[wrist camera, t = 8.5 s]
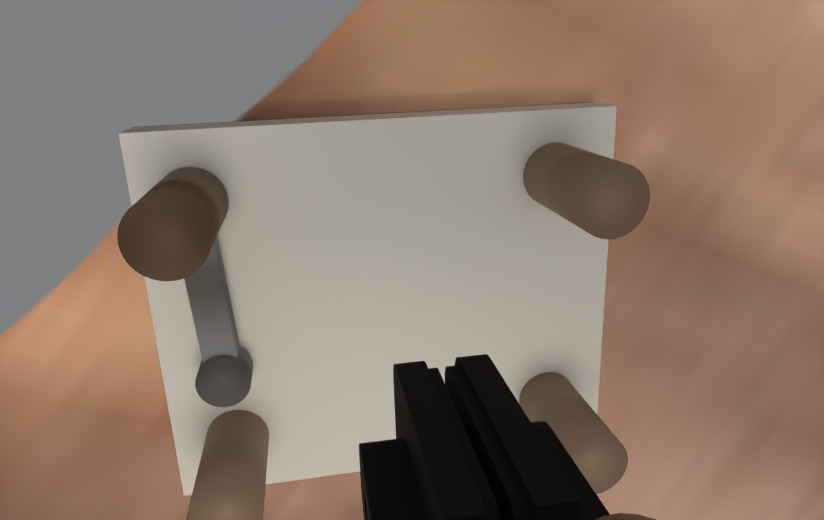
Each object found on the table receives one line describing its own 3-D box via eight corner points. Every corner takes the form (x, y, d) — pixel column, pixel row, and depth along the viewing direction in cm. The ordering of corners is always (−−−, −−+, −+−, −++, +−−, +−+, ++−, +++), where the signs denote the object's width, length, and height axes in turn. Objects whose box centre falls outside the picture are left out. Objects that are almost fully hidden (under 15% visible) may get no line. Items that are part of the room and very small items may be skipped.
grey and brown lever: (263, 383, 30) (255, 459, 24) (199, 394, 30) (176, 473, 24) (221, 162, 27) (201, 191, 21) (148, 171, 26) (107, 202, 21)
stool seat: (593, 102, 32) (693, 117, 24) (577, 414, 37) (652, 511, 29) (133, 127, 28) (68, 154, 20) (192, 465, 34) (159, 590, 26)
